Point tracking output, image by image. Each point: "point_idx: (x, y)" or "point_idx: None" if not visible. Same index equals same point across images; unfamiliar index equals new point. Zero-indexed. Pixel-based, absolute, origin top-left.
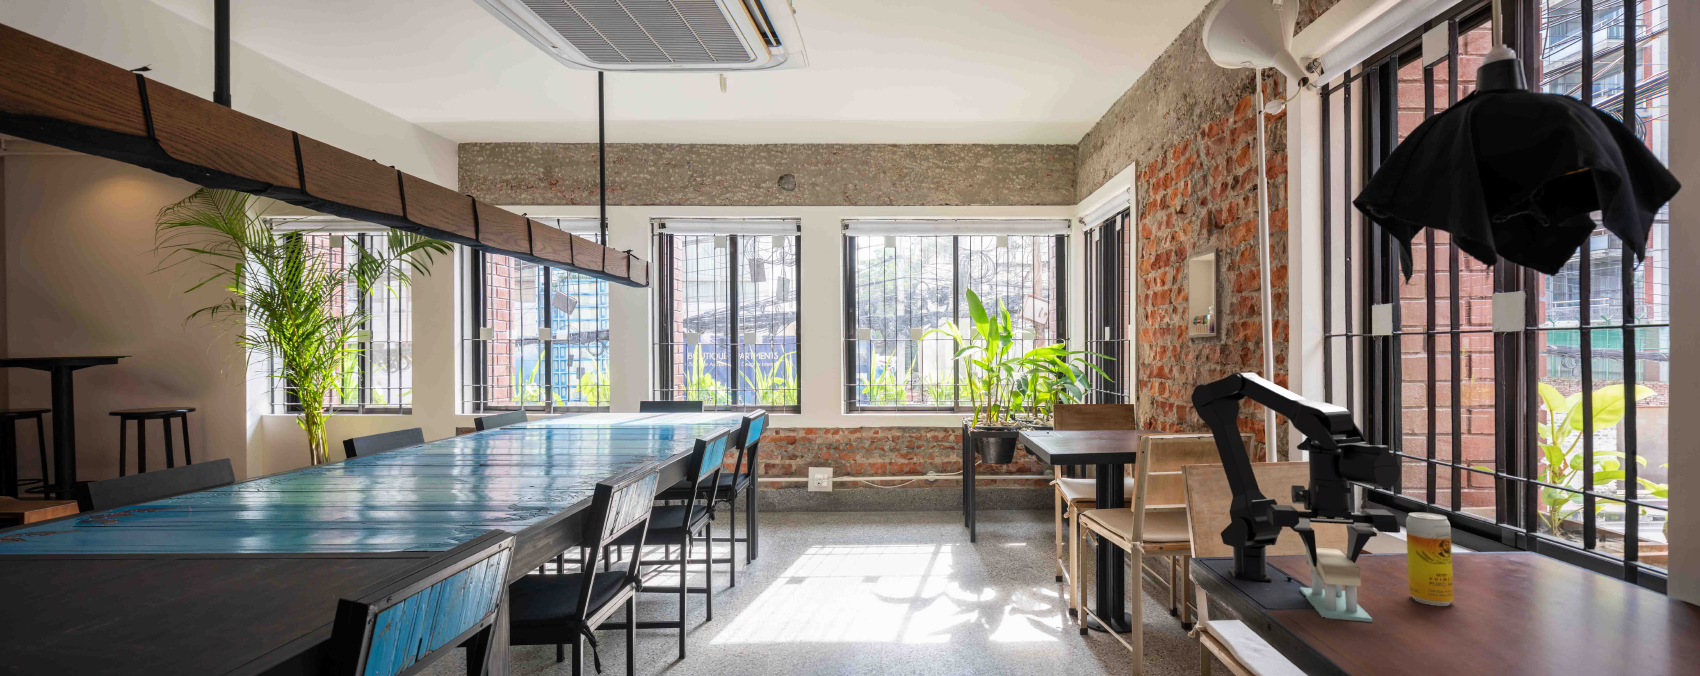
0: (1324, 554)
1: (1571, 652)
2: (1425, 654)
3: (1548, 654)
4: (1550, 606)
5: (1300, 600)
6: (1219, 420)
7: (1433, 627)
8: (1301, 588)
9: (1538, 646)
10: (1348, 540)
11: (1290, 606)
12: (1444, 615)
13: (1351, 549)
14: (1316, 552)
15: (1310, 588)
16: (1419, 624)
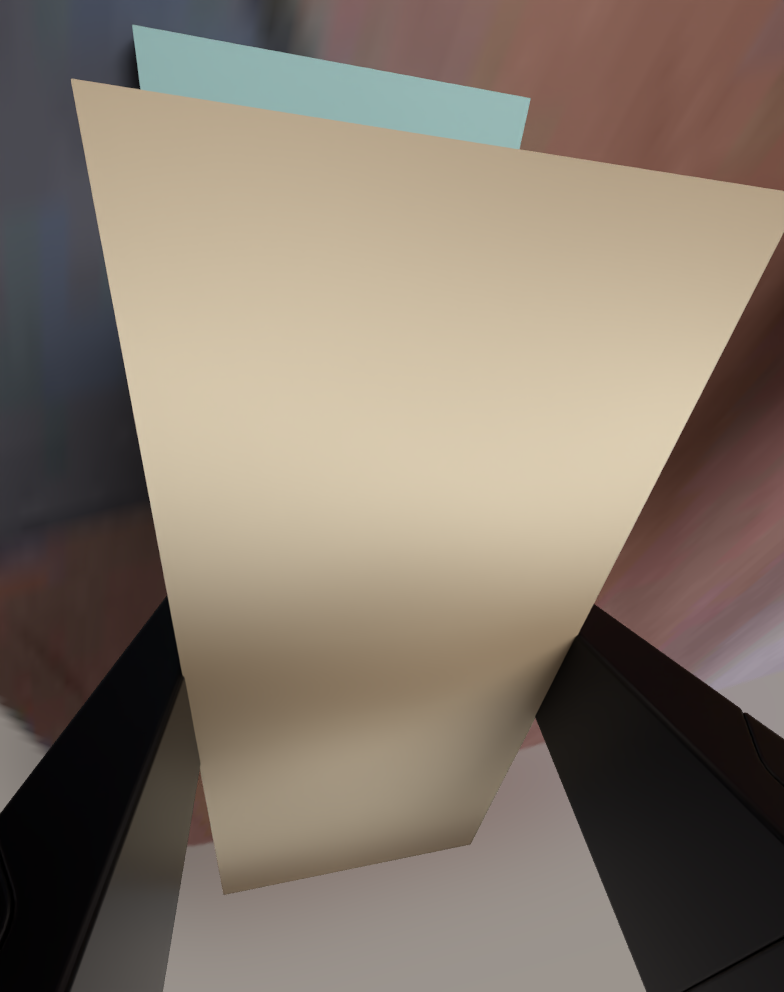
0: (345, 621)
1: None
2: None
3: (739, 660)
4: None
5: (118, 359)
6: None
7: (612, 574)
8: (142, 82)
9: (774, 622)
10: (770, 866)
11: (44, 496)
12: (780, 430)
13: (614, 831)
14: (183, 860)
15: (237, 64)
16: None
